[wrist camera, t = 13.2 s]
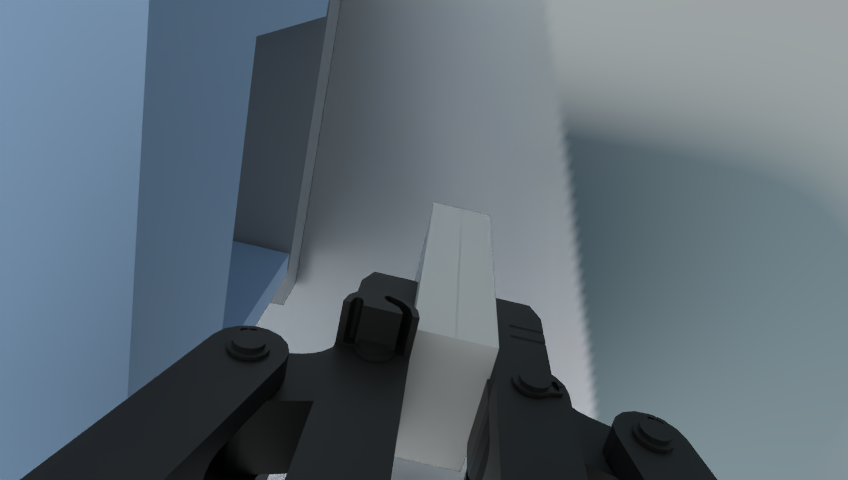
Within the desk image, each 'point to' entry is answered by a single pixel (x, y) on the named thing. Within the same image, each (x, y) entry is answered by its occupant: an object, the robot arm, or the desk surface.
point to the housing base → (284, 137)
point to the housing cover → (120, 201)
